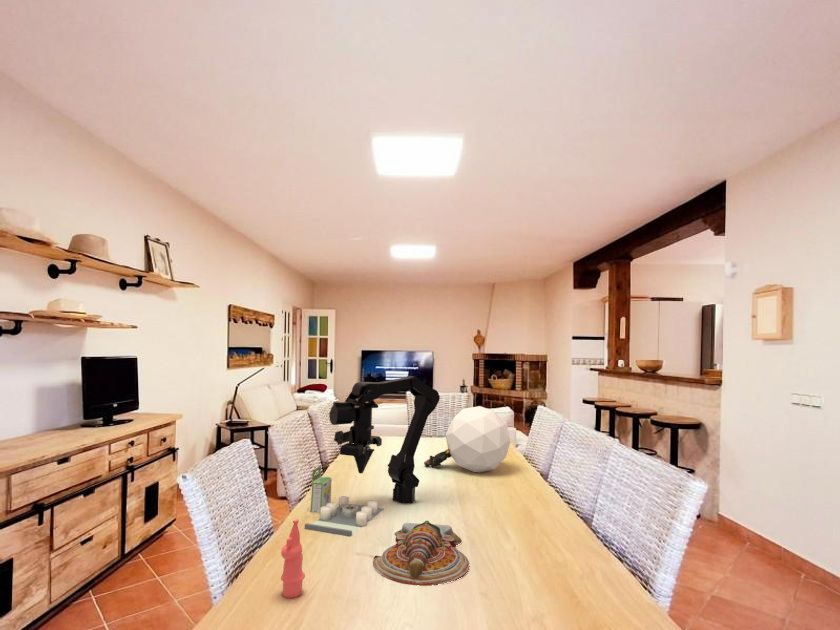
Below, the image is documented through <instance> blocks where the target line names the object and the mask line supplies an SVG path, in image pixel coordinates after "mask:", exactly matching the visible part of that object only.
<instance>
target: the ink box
mask: <svg viewBox="0 0 840 630" xmlns="http://www.w3.org/2000/svg"><path fill="white" fill-rule="evenodd" d="M317 472H318V473H317ZM321 472H322V465H320V466H318V467H316V468H314V469H312V474H311V475H312V478H311V495H310V496H311V497H310V513H318V514H320V510H321V507H323V506H326V505H327V503H332V502H331V501H332V480H333V479H332V477H330V476H322V475H321ZM315 473H316V474H315Z"/></svg>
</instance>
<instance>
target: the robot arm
mask: <svg viewBox="0 0 840 630" xmlns="http://www.w3.org/2000/svg"><path fill="white" fill-rule="evenodd" d="M405 390H408V391H409V393H410V394H411V395H412V396H413V397H414V400H413V406H414V412H413V415H412V418H411V420H410V423H409V426H408V428H407V432H406V434H405V437H404V439H403V442H402V445H401V448H400V450H399V452H398V453H397V454H396V455H395V454H391V456H390V459H389V463H388V464H387V465H386V466H387V468H388V469H387V473H388V476H389V477H390V479H391V481H392V483H393V484H394V488H393V489H392V501H393V502H397V504H402V505H403V504H405V505H406V504H413V503H414V502H415V501H416V488H417V487H418V486H419V484H420V480H419V478H418V477H417V475H415V474H414V472H415V467H416V466H415V453H416V451H417V448H418V446H419V443H420V440H421V437H422V435H423V431H424V428H425V426H426V423H427V420H428V418H429V416H430V414H432V413H433V412H434V411H435V409H436V408H437V406H438V404H439V403H440V398H441V397H440V394H439V392H438V390H437V389H435V388H432V387H431V386H429V385H428V384H426V383H425V382H423V381H422V380H421V379H420V378H419V377H417V376H414V375H408V376H405V377H400V378H394V379H389V380H384V381H379V382H376V381H375V382H372V381H358V382H356V383H354V384H353V386H352V389H351V391H350V392H349V394H348V395H347V398H346V399H345V401H343V402H342V401H340V402H339V401H334V402H333V401H332V402H333V403H332V406H331V407H330V410H329V414H328V415H329V421H330V423H331V425H332V426H337V425H351V424H352V423H353V425H352V426H350V427H349V430H348V431H345V432H343V430H338V431H336V432H335V434H334V438H333V442H336V443H337V446H339V455H340V456H350V457H351V456H352V457H353V458H354V460H355V463H356V467H357V471H358V473H359V474H364V472H365V470H366V467H367V465H368V463H369V461H370V458H371V457H372V456H373V453H374V452H375V449H374V448H371V445H375V446H376V447H380V446H382V445H383V441H382V440H383V439H382V438H381V436H379V435H372V430H373V429H375V425H372V423H373V421H372V420H373V409H378V408H379V405H378V404H377V403H376V402H375V400H377V399H379V398H380V397H382V396H384V395H386V394H392V393H398V392H403V391H405ZM341 444H343V445H342V446H340V445H341Z"/></svg>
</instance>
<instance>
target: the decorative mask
mask: <svg viewBox="0 0 840 630" xmlns="http://www.w3.org/2000/svg"><path fill="white" fill-rule="evenodd" d="M393 535H394V536H395V544H394V545H391V546H389V547H388V548H386V549H385V550H384V551H383V552H382V554H381V556H380V555H375V556H374V557H373V558H372V567H373V569H374V571H375V572H376V574H378V575H380V576H381V577H382V578H385V579H387V580H390V581H391V582H395V583H398V584H403V585H409V586H417V585H419V587H420V586H421V587H431V586H432V585H434V586H439V585H438V584H442V585H445V584H444V583H447V582H451V581H454V580H457V579H459V578H461V577H463V576H464V575H465V574H466V573H467V572H468V573H469V571H470V569H469V567H470V568H471V566H469V564H470V561H469V559H468V557H467V556H466V555H465V554H464V553H463V552H462V551H460V550H458V549H457V547H455V546H456V545H458V544H460V543H461V542H462V543H463V541H462V539H461V537H460V536H458V534H456V533H455V532H454V531H453V529H452V526H451V525H449V524H447V525H446V524H439V523H438V524H437V523H431V522H430V521H429V520H425V521H423V522H422V523H417V522H416V523H415V522H413V523H412V522H404V523H403V524H402V527H401V529H399V530H397V531H395V532H394V534H393ZM462 543H461V544H462ZM461 544H460V545H461ZM468 570H469V571H468ZM468 573H467V574H468ZM467 574H466V575H467ZM466 575H465V576H466ZM465 576H464V577H465ZM464 577H463V578H464ZM461 579H462V578H461ZM459 580H460V579H459ZM457 581H458V580H457ZM451 583H452V582H451ZM447 584H448V583H447Z"/></svg>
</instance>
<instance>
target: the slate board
mask: <svg viewBox="0 0 840 630" xmlns="http://www.w3.org/2000/svg"><path fill="white" fill-rule="evenodd" d="M348 505H354V506H358V512H359V511H361V508H362V507H364V506H365V505H361V504H353V503H349V504H348ZM384 510H385V508H382V507H377V514H374V515H371V520H373V519H374V518H375V517H377V515H379V514H381V512H383V511H384ZM371 520H369V521H367V524H368V523H369V522H371ZM363 527H364V526H362V527H360V526H356V518H353V519H346V518H342V510H341V509H339V506H337V509H336V516H334V517H331V519H330V520H328V521H322V520H320V518H319V519H318V520H315V521H314V522H312V523H309V522H308V523H307V522H306V523H304V530H305V529H306V530H309V531H310V530H311V531H317V532H323V533H329V534H333V535H334V534H335V535H341V536H347V537H352V536H353V535H355V534H356V533H357V532H358V531H359V530H361V529H362V528H363Z"/></svg>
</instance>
